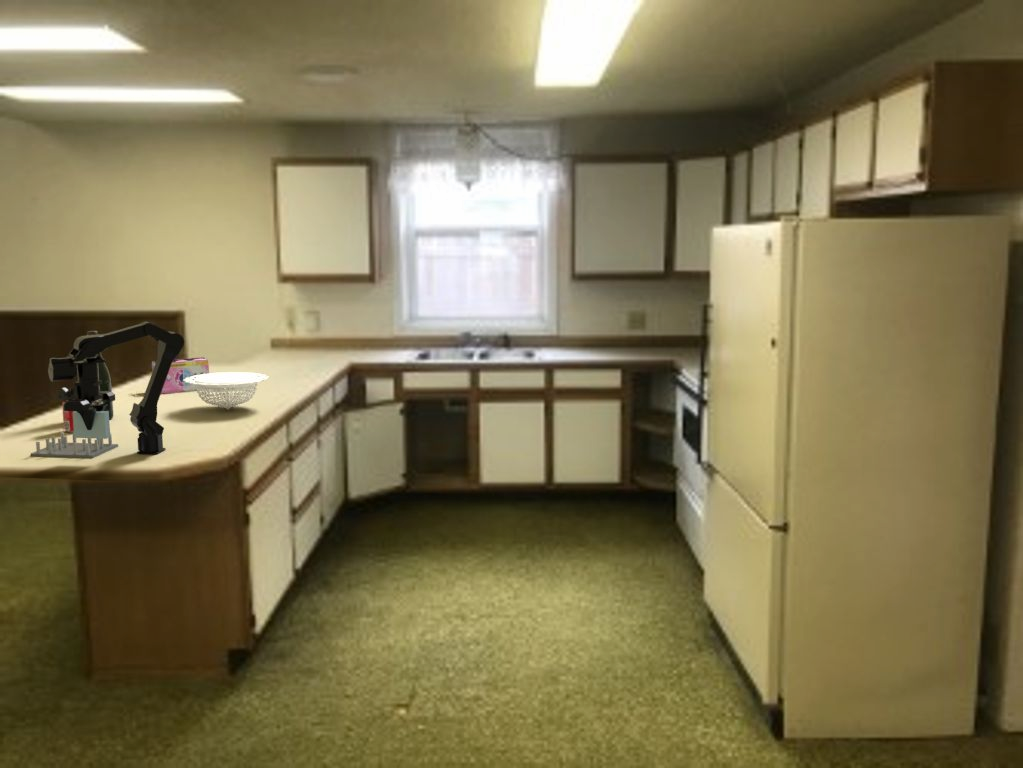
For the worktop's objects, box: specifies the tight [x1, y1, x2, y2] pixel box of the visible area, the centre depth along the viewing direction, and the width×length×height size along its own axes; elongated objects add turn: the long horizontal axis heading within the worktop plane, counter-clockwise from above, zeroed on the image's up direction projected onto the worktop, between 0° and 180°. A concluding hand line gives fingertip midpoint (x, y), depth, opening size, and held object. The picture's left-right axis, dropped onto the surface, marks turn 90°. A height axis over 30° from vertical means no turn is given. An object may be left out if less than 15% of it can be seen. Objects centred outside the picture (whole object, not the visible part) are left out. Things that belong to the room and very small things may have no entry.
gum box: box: [151, 356, 210, 395], centre depth 383 cm, size 24×8×14 cm, turn 130°
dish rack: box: [30, 431, 119, 459], centre depth 275 cm, size 20×15×4 cm
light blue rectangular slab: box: [73, 411, 111, 440], centre depth 262 cm, size 10×2×8 cm, turn 86°
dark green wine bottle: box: [85, 330, 115, 420], centre depth 320 cm, size 10×10×33 cm
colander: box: [183, 371, 270, 410], centre depth 342 cm, size 32×32×13 cm
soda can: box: [62, 400, 74, 434], centre depth 302 cm, size 7×7×12 cm
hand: (91, 429), depth 262 cm, fingers closed on light blue rectangular slab, 2 cm apart
